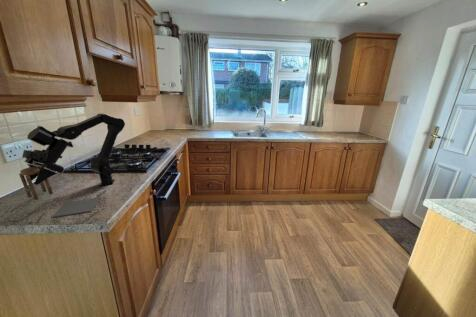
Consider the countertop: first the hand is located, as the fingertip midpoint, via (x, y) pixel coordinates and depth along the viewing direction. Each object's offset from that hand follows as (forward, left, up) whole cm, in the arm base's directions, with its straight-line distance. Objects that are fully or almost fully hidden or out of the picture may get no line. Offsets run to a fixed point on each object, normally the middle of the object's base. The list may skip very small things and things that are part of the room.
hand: (31, 183), depth 86 cm
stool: (-1, +1, -7) cm, 7 cm away
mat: (+2, +14, -13) cm, 20 cm away
